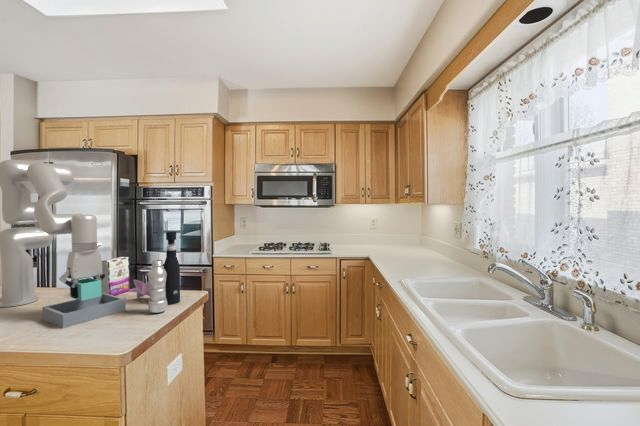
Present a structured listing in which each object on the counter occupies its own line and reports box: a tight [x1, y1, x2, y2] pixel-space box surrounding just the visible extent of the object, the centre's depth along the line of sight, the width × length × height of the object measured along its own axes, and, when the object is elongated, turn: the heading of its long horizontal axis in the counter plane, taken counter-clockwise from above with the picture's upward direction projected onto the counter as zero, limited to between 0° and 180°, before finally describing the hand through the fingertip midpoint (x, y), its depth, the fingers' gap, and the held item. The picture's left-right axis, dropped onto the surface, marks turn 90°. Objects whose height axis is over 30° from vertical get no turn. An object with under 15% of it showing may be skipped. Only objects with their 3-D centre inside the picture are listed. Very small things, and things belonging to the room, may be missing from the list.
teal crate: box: [69, 277, 101, 301], centre depth 113 cm, size 8×6×6 cm
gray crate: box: [42, 293, 127, 329], centre depth 113 cm, size 16×20×4 cm
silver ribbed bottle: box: [147, 259, 168, 314], centre depth 116 cm, size 6×7×20 cm
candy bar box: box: [101, 256, 131, 296], centre depth 140 cm, size 11×5×16 cm, turn 168°
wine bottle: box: [162, 231, 181, 306], centre depth 128 cm, size 6×6×30 cm
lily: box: [127, 279, 150, 304], centre depth 130 cm, size 12×12×10 cm
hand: (85, 294), depth 113 cm, fingers closed on teal crate, 6 cm apart
